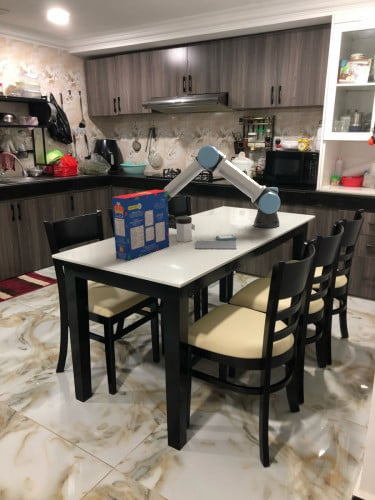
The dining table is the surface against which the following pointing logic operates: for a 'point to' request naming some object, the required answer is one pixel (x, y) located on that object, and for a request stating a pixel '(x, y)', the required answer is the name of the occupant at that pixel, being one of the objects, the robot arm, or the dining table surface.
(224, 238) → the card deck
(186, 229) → the jar
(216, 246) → the mat
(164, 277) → the dining table surface
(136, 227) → the blue cardboard box
